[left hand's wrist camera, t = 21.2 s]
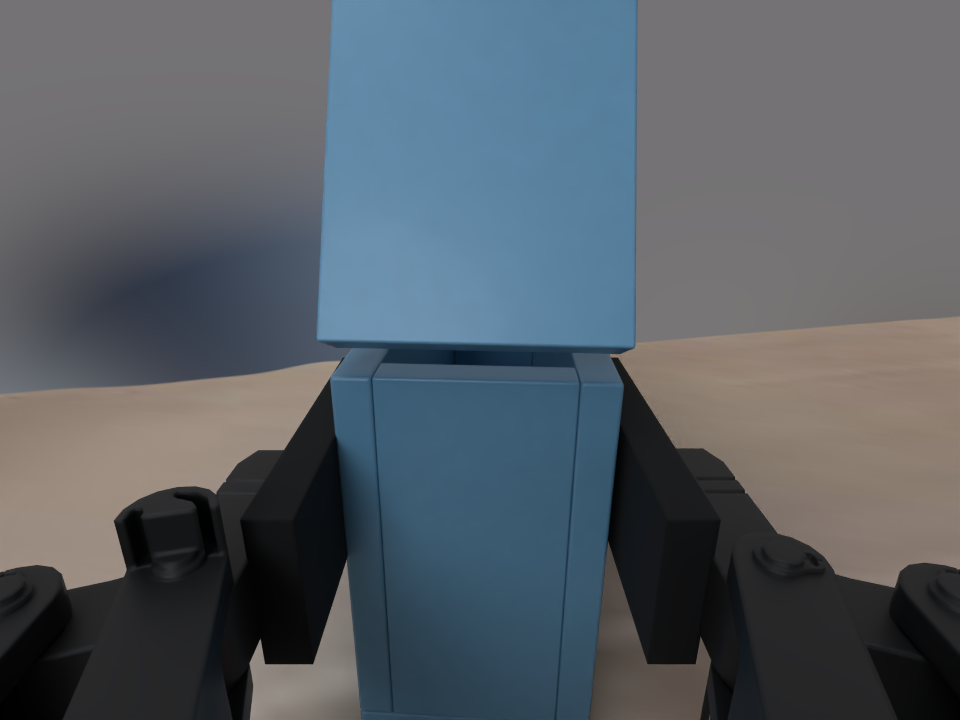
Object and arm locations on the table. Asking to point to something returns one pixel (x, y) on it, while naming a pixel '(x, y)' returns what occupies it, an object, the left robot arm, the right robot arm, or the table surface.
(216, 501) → the left robot arm
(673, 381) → the table surface
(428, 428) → the chest
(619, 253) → the lid
